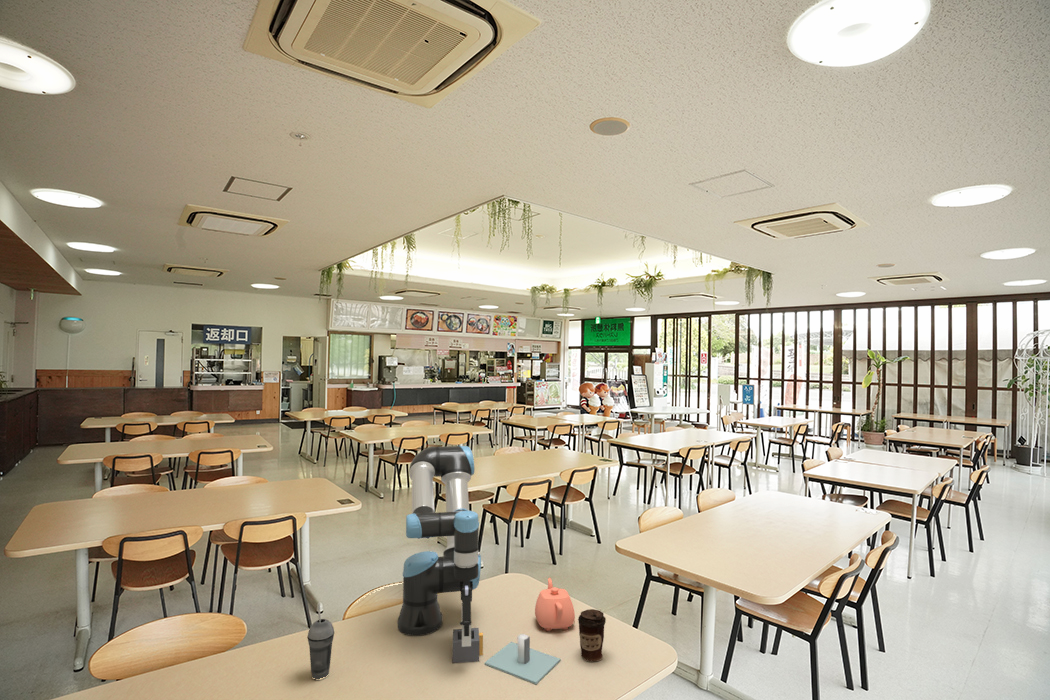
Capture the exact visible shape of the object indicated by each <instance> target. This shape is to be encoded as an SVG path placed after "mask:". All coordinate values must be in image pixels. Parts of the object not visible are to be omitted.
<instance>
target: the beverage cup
mask: <svg viewBox="0 0 1050 700" xmlns="http://www.w3.org/2000/svg"><path fill="white" fill-rule="evenodd" d="M320 604H321V603H317V611H318V612H317V613H318V619H317V620H316V621H314V622H313V623H312V624H311V625H310V627H309V629H308V632H307V637H306V639H307V642H308V648H309V657H310V658H309V660H310V661H309V662H310V672H311V678H312V677H313V678H315V679H320V678H323V677H326V676H327V675H328V674H329V675H330V668H331V659H332V657H331V656H332V648H333V641H334V636H335V630H334V626H333V623H332V622H331V621H330V620H328V619H327V618H326V619H325V618H322V617H321V605H320ZM329 675H328V676H329Z"/></svg>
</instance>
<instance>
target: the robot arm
mask: <svg viewBox="0 0 1050 700" xmlns="http://www.w3.org/2000/svg"><path fill="white" fill-rule="evenodd" d="M474 460H475V459H474V455H473V451H472V449H471V448H470V446H468V445H467V446H466V445H455V446H454V445H452V446H448V445H447V446H428V447H427V448H424V449H423V450H421V451H419V452H418V453H417V454H416V455H415V456H414V458H413V459H412V460H411V462H410V464H409V469H408V476H409V478H410V480H411V514H410V513H409V514H407V515H406V516H405V517H406V519H405V535H406V538H407V539H417V540H418V539H429V538H438V537H439V538H440V537H441V538H442V537H446V542H447V545H446V548H445V549H444V550H443V552H442V553H443V554H442V555H443V556H439V555H438V553H437V552H436V551H433V550H432V551H430V550H429V551H427V550H425V551H420V552H417V553H414V554H412V555H409V557H407V558H406V559H405V561H404V563H403V569H402V570H403V571H402V578H403V583H402V584H403V585H402V605H401V608H400V611H399V616H397V620H396V621H397V625H396V626H397V630H398V631H399V632H400V633H401V634H403V633H404V635H408V636H414V637H415V636H424V635H429V634H432V633H434V632H437V631H439V629H440V628H441V627H442V625H443V614H442V612H441V608H440V607H441V606H440V603H439V601H438V594H445V593H455V592H460V601H461V621H460V622H459V625H460V626H461V629H462V647H466V646H471V628H472V601H473V591H474V590H476V589H477V588H478V586H479V584H480V578H481V570H482V566H481V565H482V556H481V552H480V551H479V527H480V522H479V514H478V513H477V512H476V511H474V510H470V502H469V501H470V500H469V487H468V486H469V485H468V483H469V482H470V481H471V480H472V476H473V475H475V470H476V469H475V461H474ZM434 477H436V478H437V477H439V478H440V481H441V482H442V483H443V484H444V486H445V510H446V511H444V512H443V511H441V512H436V511H435V509H436V508H435V500H434V498H435V497H434V495H435V494H434V493H435V492H434V481H433V479H434Z"/></svg>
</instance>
